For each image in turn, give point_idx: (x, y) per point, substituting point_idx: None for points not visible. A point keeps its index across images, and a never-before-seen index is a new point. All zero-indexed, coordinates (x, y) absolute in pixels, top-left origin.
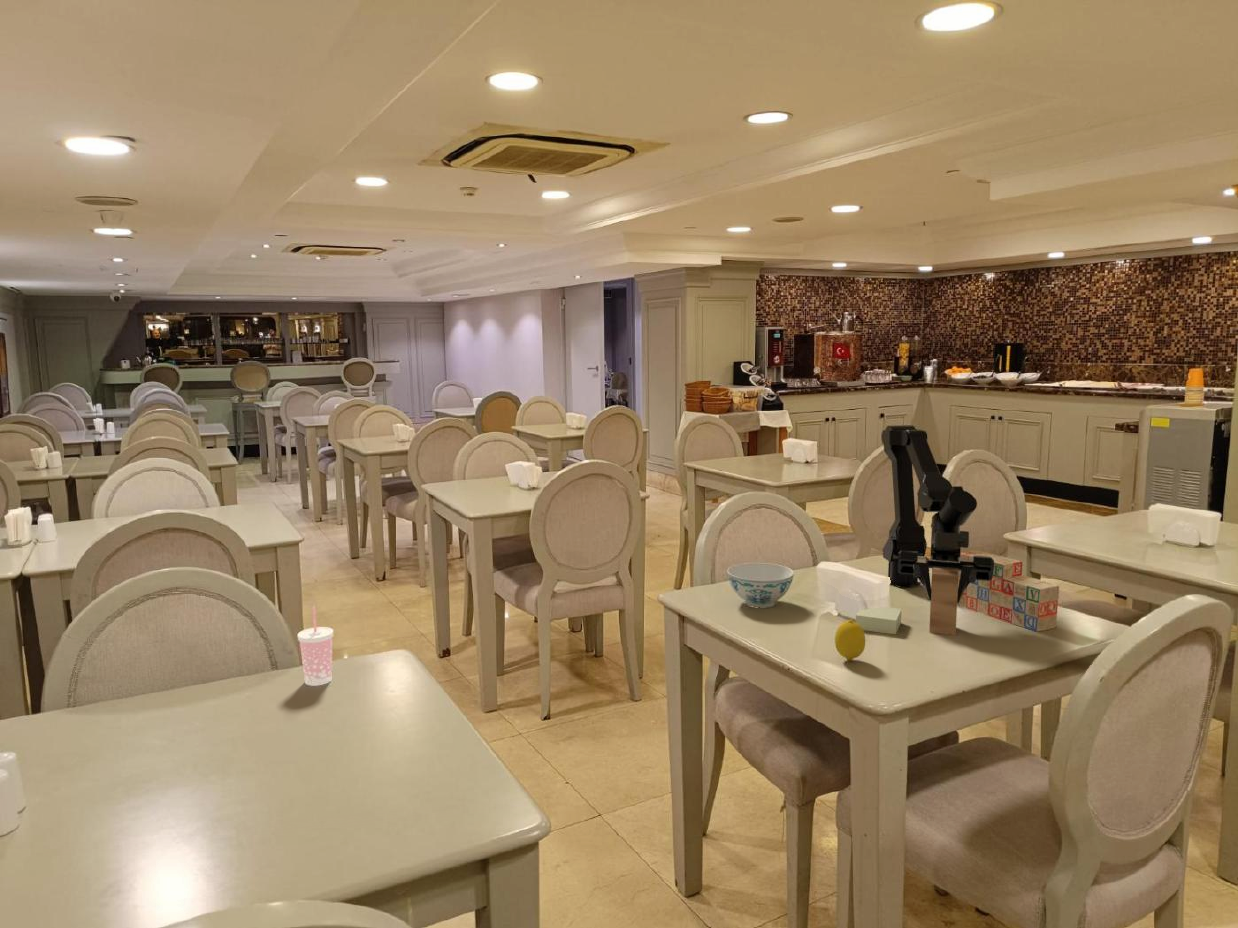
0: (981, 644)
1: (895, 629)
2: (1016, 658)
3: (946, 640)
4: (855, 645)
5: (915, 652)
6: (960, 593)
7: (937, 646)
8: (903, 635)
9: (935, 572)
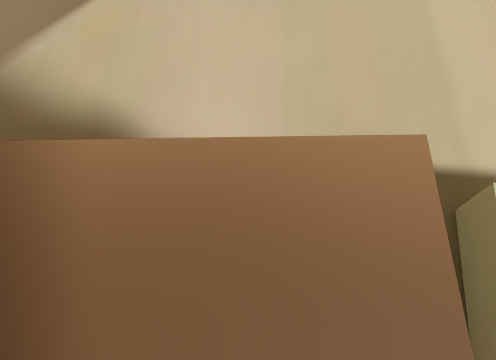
0: None
1: (468, 201)
2: (16, 101)
3: None
4: None
5: (343, 53)
6: None
7: (270, 128)
8: None
9: (368, 245)
